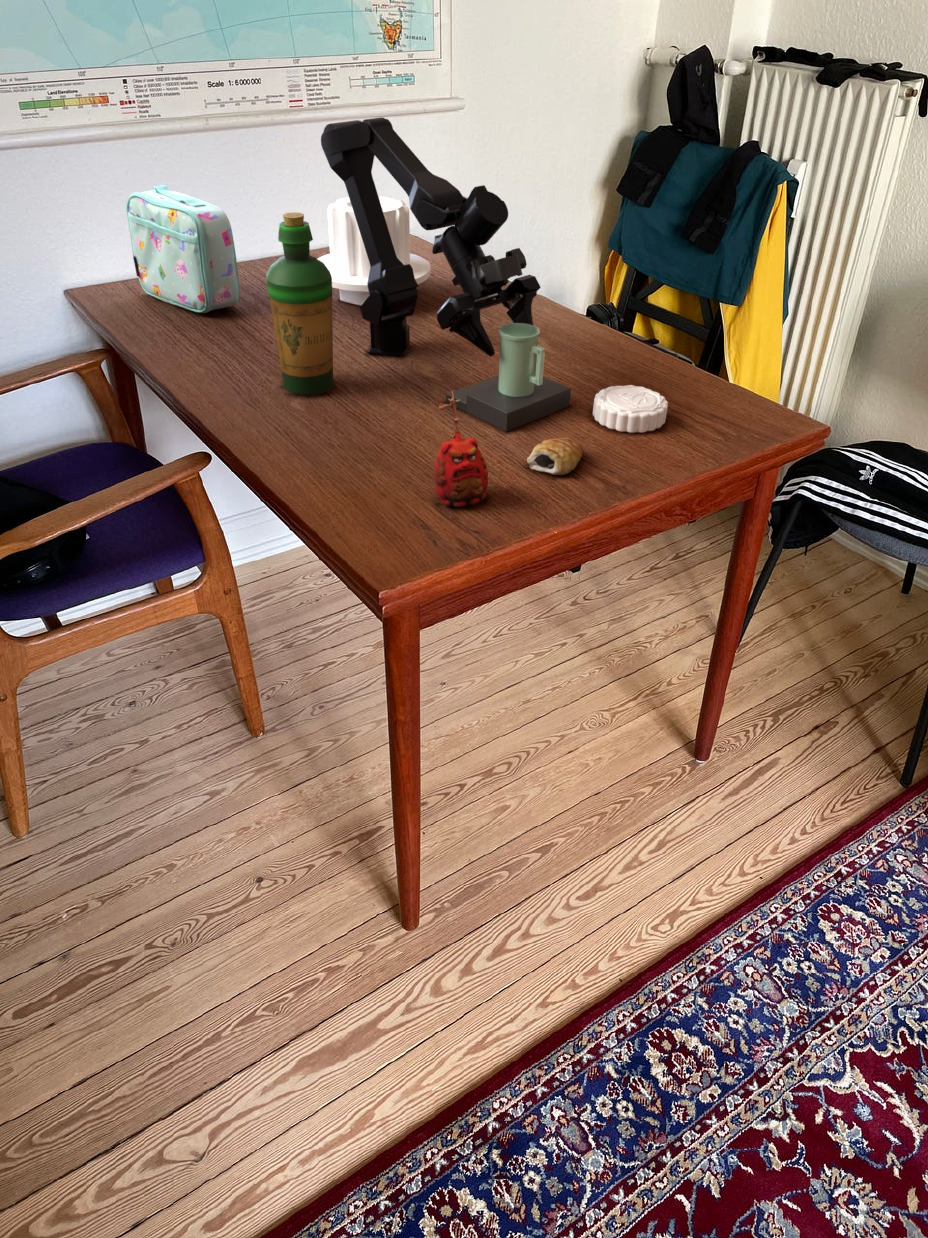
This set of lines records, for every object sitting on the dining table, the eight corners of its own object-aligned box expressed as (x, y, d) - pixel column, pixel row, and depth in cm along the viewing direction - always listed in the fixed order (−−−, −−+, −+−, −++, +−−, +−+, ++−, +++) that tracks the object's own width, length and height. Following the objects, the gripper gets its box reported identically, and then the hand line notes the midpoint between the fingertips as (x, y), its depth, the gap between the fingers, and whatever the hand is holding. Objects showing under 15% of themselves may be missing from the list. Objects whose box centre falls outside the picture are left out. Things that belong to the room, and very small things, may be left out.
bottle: (289, 404, 151) (270, 227, 134) (269, 380, 158) (249, 210, 141) (349, 393, 155) (338, 219, 138) (326, 370, 162) (314, 203, 145)
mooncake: (680, 423, 148) (684, 402, 146) (624, 439, 143) (627, 418, 141) (632, 396, 156) (635, 376, 154) (577, 411, 151) (579, 391, 149)
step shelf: (446, 402, 153) (446, 384, 151) (508, 379, 161) (509, 362, 159) (506, 431, 144) (507, 413, 142) (569, 406, 153) (571, 388, 151)
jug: (488, 388, 150) (490, 328, 144) (516, 378, 153) (519, 319, 147) (525, 405, 145) (529, 344, 139) (553, 394, 148) (558, 334, 142)
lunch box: (130, 292, 194) (108, 183, 180) (171, 281, 200) (152, 175, 187) (207, 323, 180) (189, 208, 167) (248, 310, 186) (234, 198, 173)
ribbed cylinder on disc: (453, 294, 197) (454, 201, 185) (384, 327, 180) (381, 227, 168) (361, 273, 207) (357, 183, 196) (288, 303, 190) (279, 206, 179)
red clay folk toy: (445, 514, 124) (446, 413, 115) (425, 491, 129) (424, 391, 120) (495, 503, 127) (499, 403, 117) (473, 480, 132) (476, 382, 122)
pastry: (555, 444, 141) (557, 422, 139) (593, 457, 138) (596, 434, 136) (523, 468, 135) (525, 444, 133) (562, 481, 132) (565, 458, 130)
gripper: (449, 242, 134) (498, 336, 134) (536, 222, 144) (581, 309, 145) (415, 284, 143) (461, 371, 144) (499, 262, 154) (542, 343, 154)
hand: (513, 348), depth 146 cm, fingers open, 9 cm apart
